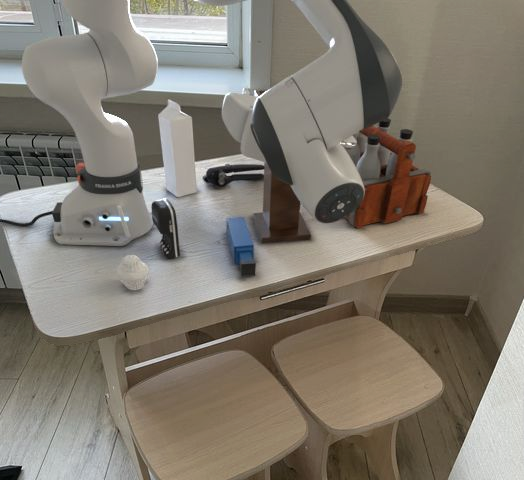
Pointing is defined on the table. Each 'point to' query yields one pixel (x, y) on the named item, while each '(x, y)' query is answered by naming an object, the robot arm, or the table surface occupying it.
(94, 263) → the table surface
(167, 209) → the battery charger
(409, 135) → the milk bottle holder
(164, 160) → the milk
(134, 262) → the muffin
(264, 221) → the wooden pedestal stand
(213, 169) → the can opener
